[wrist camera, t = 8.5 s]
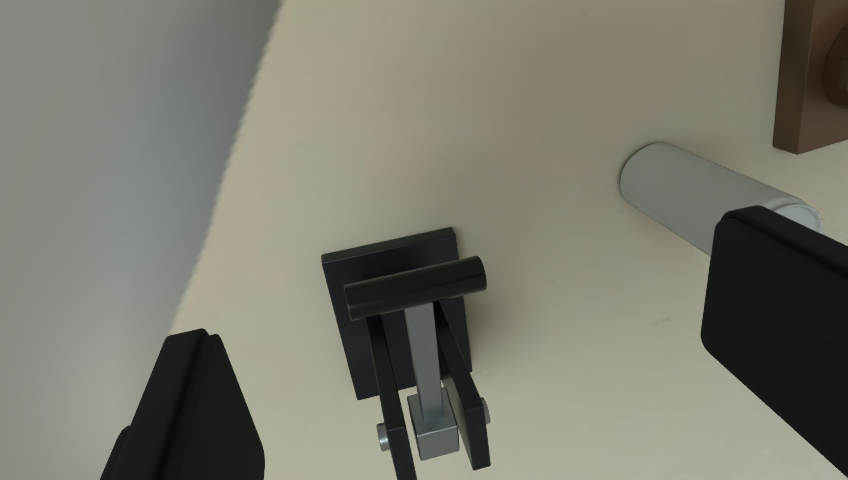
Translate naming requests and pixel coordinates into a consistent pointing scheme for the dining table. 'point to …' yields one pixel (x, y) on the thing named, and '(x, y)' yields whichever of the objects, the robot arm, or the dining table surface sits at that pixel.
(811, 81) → the button block
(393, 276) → the lever
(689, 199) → the beverage can
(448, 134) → the dining table surface
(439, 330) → the bracket
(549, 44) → the dining table surface
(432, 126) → the dining table surface
